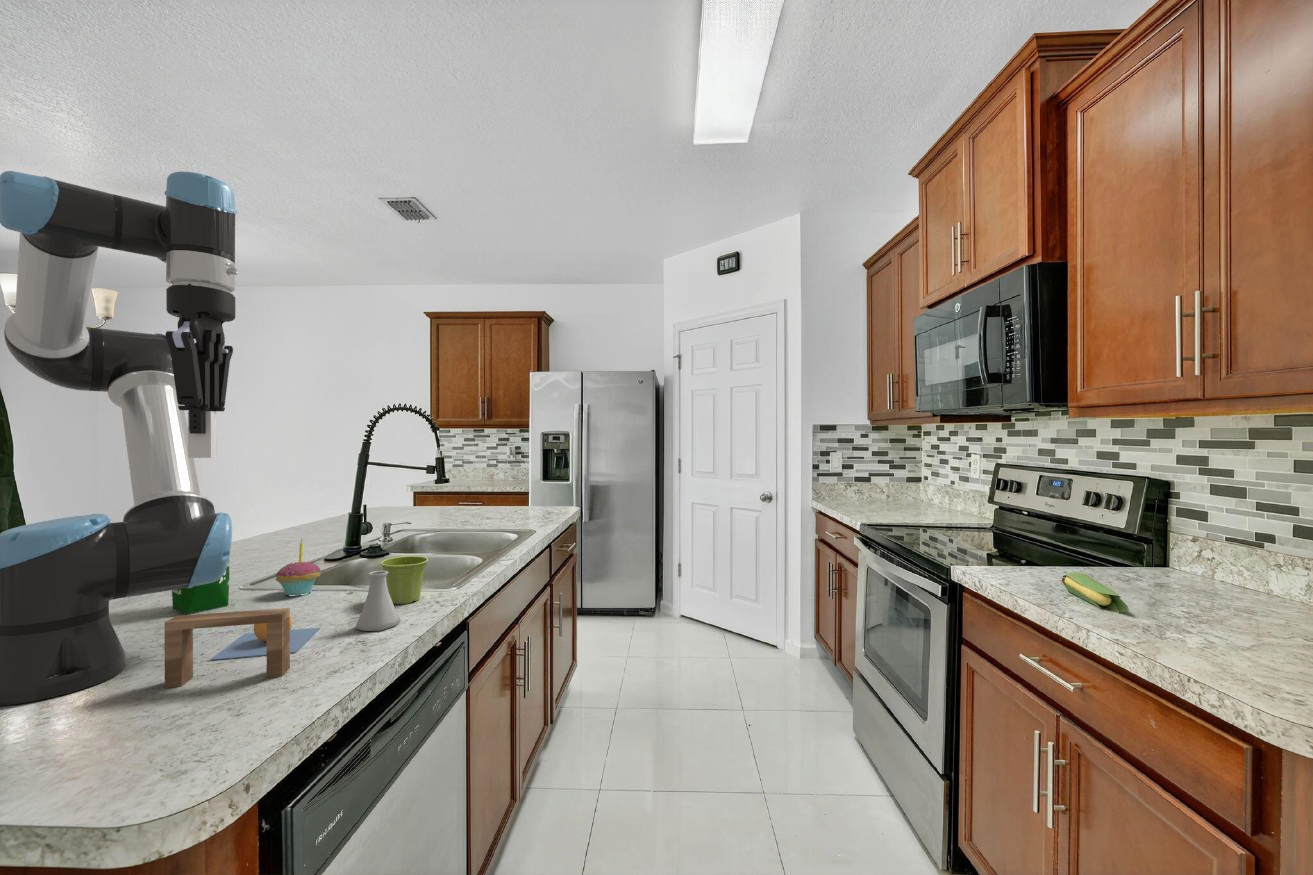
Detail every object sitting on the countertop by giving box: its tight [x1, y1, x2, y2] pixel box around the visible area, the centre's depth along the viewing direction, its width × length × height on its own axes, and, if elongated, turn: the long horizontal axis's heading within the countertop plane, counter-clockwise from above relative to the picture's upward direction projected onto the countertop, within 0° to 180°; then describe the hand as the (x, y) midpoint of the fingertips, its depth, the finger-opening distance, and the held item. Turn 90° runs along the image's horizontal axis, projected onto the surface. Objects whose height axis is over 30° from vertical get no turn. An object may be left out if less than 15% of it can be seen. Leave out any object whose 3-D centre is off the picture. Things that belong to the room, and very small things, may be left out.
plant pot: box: [380, 555, 429, 605], centre depth 120 cm, size 9×9×9 cm
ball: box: [253, 615, 293, 642], centre depth 96 cm, size 6×6×6 cm
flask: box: [354, 570, 401, 632], centre depth 104 cm, size 7×7×10 cm
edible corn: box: [1061, 571, 1130, 615], centre depth 119 cm, size 5×20×5 cm
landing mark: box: [209, 627, 321, 662], centre depth 95 cm, size 12×12×1 cm
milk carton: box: [171, 560, 230, 615], centre depth 116 cm, size 9×9×20 cm
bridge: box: [164, 607, 291, 689], centre depth 82 cm, size 3×14×9 cm, turn 105°
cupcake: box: [275, 538, 321, 596], centre depth 125 cm, size 9×8×12 cm
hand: (202, 457), depth 78 cm, fingers closed
